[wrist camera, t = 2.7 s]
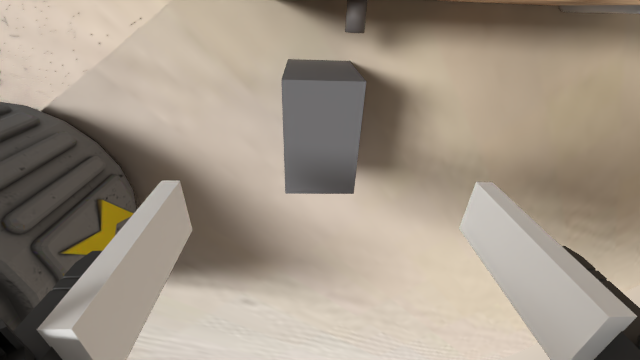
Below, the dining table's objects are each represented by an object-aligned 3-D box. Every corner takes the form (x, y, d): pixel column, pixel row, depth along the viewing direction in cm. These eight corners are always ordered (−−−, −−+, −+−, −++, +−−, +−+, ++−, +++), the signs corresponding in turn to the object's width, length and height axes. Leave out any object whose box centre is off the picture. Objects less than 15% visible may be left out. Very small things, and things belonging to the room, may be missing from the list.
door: (295, 26, 21) (291, 33, 15) (294, -27, 20) (289, -41, 14) (543, 35, 23) (629, 45, 17) (562, -14, 21) (665, -23, 15)
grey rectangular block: (290, 149, 27) (285, 193, 21) (288, 59, 23) (281, 79, 17) (342, 149, 28) (353, 193, 21) (349, 60, 23) (366, 81, 17)
